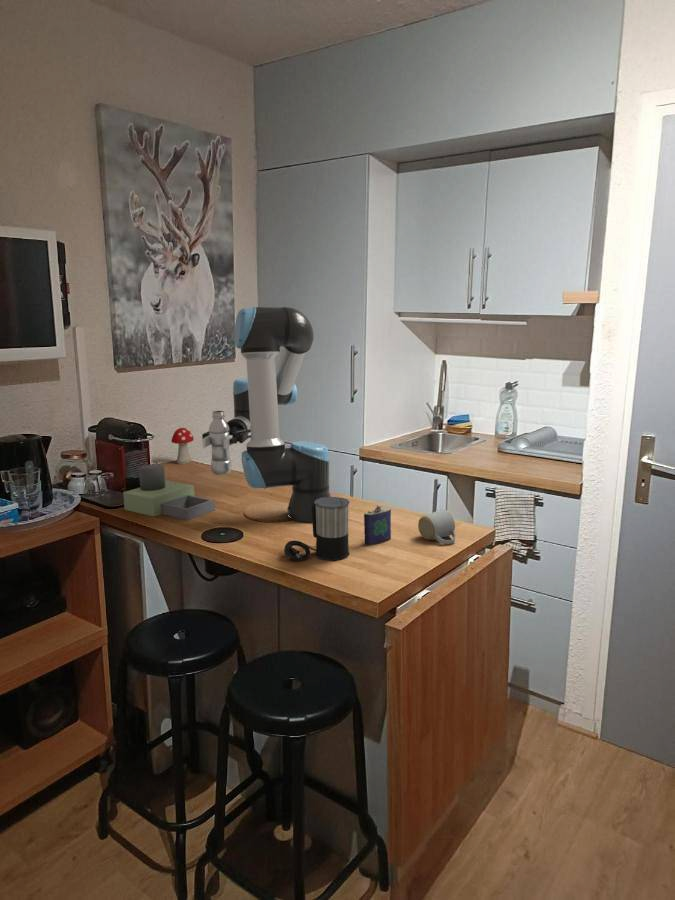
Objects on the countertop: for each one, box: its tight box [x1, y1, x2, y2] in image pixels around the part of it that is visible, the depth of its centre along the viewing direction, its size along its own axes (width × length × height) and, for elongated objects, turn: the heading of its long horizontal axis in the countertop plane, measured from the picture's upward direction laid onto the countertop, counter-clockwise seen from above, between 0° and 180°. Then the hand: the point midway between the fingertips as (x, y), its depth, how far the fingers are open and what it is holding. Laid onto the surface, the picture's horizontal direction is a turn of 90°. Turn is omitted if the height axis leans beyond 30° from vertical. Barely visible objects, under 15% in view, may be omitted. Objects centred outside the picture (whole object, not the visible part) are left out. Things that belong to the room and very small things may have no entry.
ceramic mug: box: [417, 508, 456, 546], centre depth 189 cm, size 11×8×8 cm
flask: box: [363, 504, 392, 546], centre depth 188 cm, size 9×3×11 cm, turn 127°
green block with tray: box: [122, 463, 216, 521], centre depth 220 cm, size 26×18×13 cm
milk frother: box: [283, 496, 351, 561], centre depth 177 cm, size 14×16×15 cm
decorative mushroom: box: [171, 427, 195, 465], centre depth 285 cm, size 10×9×15 cm
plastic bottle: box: [208, 410, 232, 476], centre depth 210 cm, size 6×7×20 cm
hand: (214, 443), depth 204 cm, fingers closed on plastic bottle, 6 cm apart
